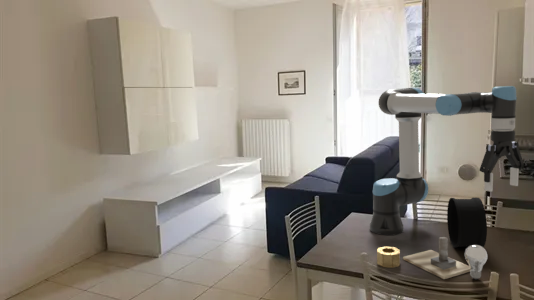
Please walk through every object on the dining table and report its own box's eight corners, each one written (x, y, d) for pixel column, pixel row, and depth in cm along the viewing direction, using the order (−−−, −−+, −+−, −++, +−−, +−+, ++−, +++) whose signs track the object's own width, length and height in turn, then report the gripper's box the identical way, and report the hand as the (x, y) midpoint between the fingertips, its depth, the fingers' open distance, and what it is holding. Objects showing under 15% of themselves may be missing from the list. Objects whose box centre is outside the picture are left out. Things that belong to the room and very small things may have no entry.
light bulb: (462, 273, 147) (463, 240, 146) (484, 275, 145) (485, 242, 143) (465, 282, 141) (466, 248, 139) (489, 284, 139) (489, 249, 137)
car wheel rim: (486, 256, 161) (487, 205, 158) (458, 255, 163) (458, 205, 160) (472, 237, 180) (472, 192, 178) (447, 237, 182) (447, 192, 180)
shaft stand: (403, 259, 162) (402, 231, 160) (430, 252, 168) (430, 225, 166) (444, 279, 144) (444, 248, 142) (473, 270, 149) (473, 240, 148)
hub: (373, 261, 161) (373, 249, 161) (389, 257, 164) (389, 245, 164) (387, 269, 154) (387, 256, 153) (404, 264, 157) (404, 251, 156)
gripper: (488, 133, 142) (486, 195, 145) (536, 127, 152) (533, 185, 155) (469, 132, 148) (468, 191, 151) (516, 126, 158) (514, 181, 161)
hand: (501, 188), depth 153 cm, fingers open, 13 cm apart
